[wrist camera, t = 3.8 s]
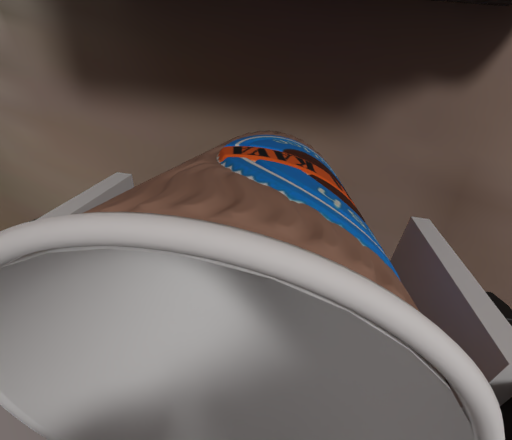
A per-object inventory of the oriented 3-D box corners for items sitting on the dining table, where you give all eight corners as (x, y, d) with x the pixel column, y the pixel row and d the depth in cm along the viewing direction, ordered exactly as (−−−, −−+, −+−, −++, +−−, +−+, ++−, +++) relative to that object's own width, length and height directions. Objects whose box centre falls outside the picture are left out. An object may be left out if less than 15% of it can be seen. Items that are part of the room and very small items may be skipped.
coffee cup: (404, 187, 14) (660, 519, 4) (277, 282, 19) (243, 533, 9) (257, 42, 12) (-61, -76, 2) (157, 193, 17) (-70, 394, 7)
